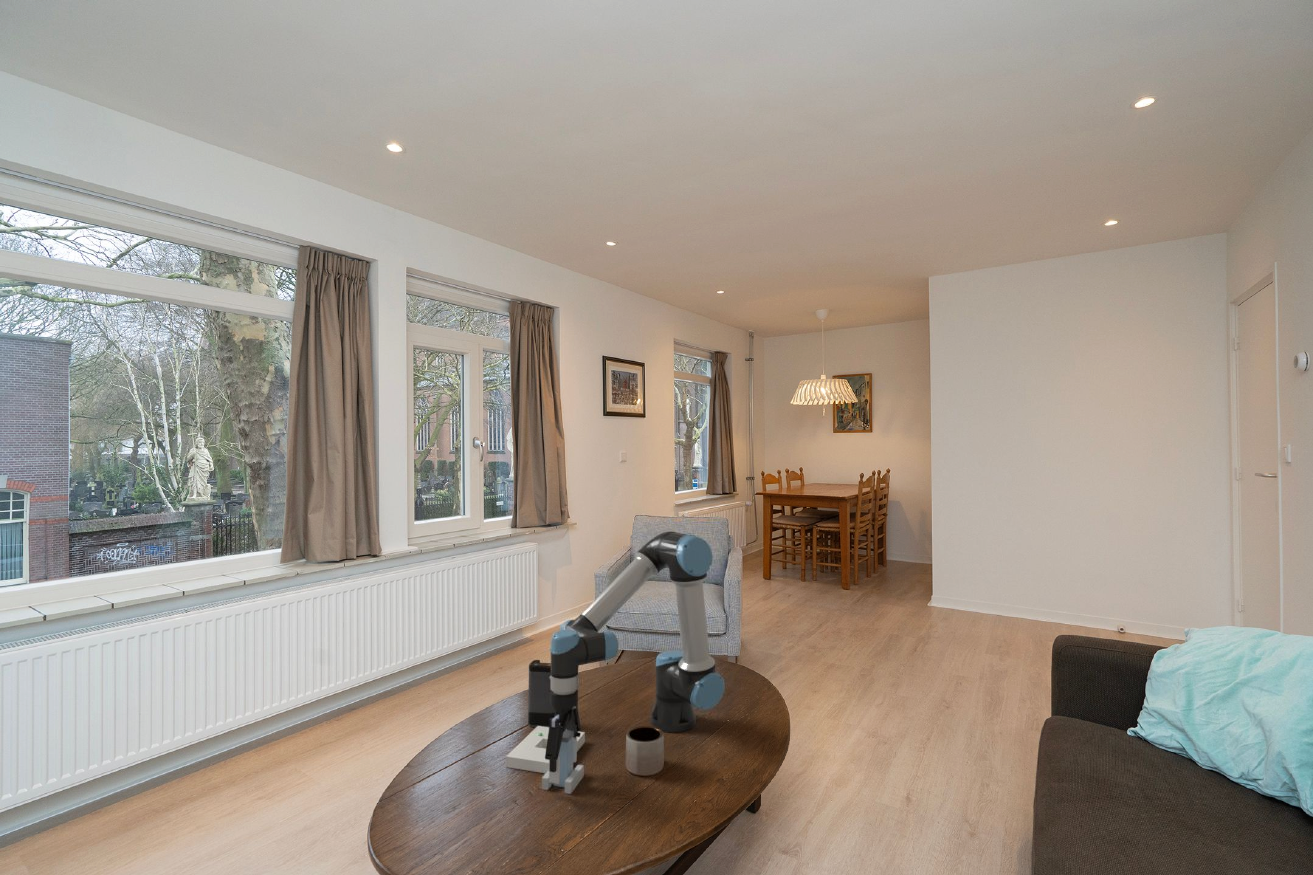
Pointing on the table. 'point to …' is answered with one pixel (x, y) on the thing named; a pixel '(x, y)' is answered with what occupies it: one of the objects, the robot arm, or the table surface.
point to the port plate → (534, 751)
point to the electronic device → (539, 694)
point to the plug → (566, 757)
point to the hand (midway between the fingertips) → (563, 771)
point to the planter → (644, 750)
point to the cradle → (570, 781)
